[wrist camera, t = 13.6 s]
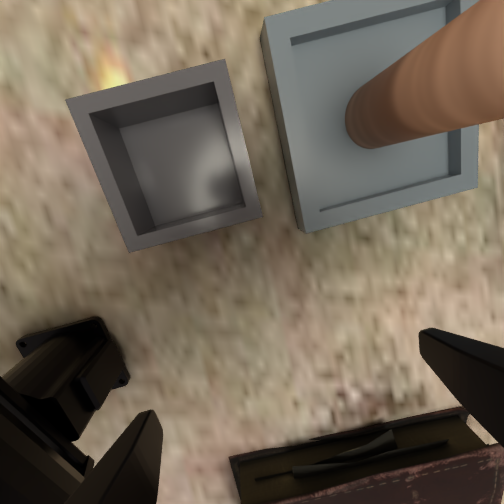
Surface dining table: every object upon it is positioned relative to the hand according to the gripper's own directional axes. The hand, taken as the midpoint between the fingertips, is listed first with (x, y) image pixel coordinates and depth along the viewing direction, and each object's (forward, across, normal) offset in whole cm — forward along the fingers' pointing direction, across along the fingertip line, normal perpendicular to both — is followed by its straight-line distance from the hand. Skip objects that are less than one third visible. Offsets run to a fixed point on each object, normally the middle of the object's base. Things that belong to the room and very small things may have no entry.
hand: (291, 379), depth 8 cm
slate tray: (+11, -10, -8) cm, 17 cm away
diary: (+12, -5, +28) cm, 31 cm away
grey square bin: (+12, +3, -8) cm, 15 cm away
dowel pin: (+10, -10, -8) cm, 17 cm away
